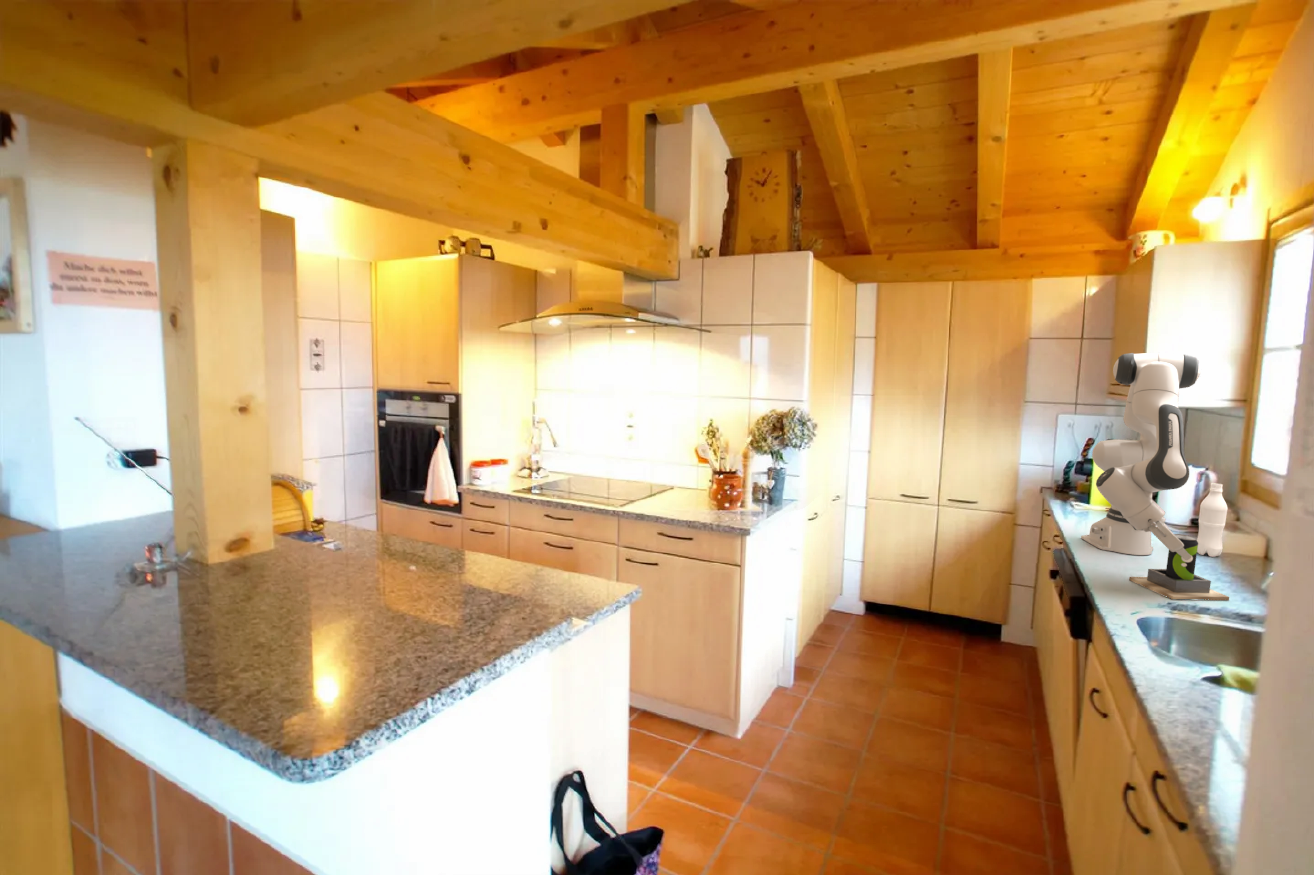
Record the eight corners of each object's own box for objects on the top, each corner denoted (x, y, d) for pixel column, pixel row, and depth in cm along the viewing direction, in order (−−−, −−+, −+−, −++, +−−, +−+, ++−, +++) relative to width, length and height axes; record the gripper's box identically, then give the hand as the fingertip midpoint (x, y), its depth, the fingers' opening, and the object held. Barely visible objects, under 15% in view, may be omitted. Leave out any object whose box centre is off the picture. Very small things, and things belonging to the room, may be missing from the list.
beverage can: (1166, 581, 188) (1172, 532, 186) (1193, 586, 184) (1199, 536, 182) (1162, 586, 184) (1169, 536, 182) (1190, 592, 179) (1197, 541, 177)
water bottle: (1227, 557, 215) (1236, 486, 212) (1207, 558, 215) (1216, 486, 212) (1207, 551, 222) (1217, 482, 219) (1188, 551, 222) (1197, 481, 219)
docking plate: (1129, 579, 192) (1129, 576, 191) (1180, 580, 192) (1180, 577, 192) (1172, 599, 176) (1173, 596, 176) (1228, 600, 176) (1229, 596, 176)
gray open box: (1146, 580, 189) (1148, 568, 188) (1179, 580, 189) (1181, 569, 188) (1174, 592, 179) (1176, 580, 178) (1209, 592, 179) (1210, 581, 178)
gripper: (1164, 517, 175) (1205, 557, 172) (1149, 503, 193) (1186, 539, 190) (1142, 530, 178) (1182, 570, 174) (1130, 515, 196) (1166, 551, 192)
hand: (1184, 553), depth 182 cm, fingers open, 8 cm apart
